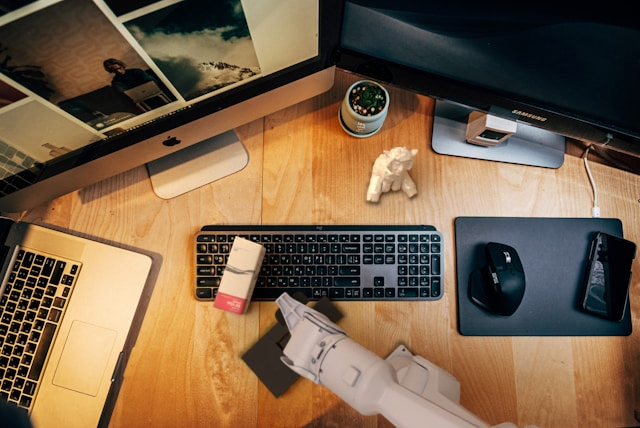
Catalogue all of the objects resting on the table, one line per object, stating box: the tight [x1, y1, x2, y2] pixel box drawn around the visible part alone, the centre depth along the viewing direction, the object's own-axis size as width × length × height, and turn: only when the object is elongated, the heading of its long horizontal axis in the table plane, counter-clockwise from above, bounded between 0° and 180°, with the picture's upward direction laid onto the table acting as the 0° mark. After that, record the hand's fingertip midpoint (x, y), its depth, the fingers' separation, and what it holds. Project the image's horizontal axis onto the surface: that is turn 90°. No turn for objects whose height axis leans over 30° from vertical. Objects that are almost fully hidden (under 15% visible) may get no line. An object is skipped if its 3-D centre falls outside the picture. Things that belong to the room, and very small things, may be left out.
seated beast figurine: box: [365, 146, 419, 203], centre depth 76 cm, size 10×9×12 cm
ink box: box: [212, 236, 267, 316], centre depth 74 cm, size 9×5×12 cm
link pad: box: [279, 295, 344, 349], centre depth 76 cm, size 5×11×3 cm, turn 133°
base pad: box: [240, 321, 302, 400], centre depth 75 cm, size 9×9×3 cm
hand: (312, 328), depth 73 cm, fingers open, 7 cm apart
